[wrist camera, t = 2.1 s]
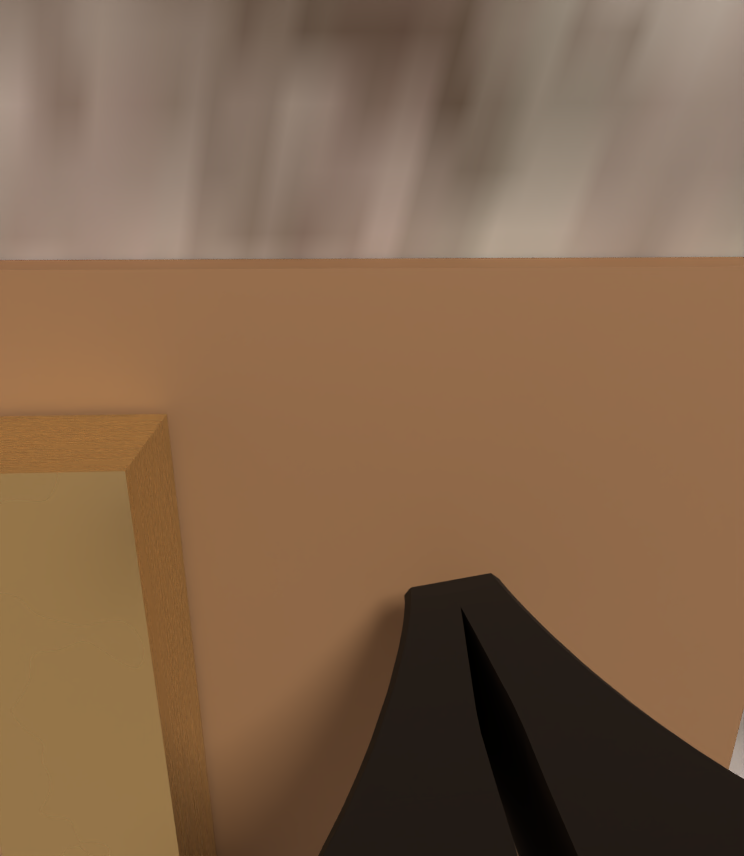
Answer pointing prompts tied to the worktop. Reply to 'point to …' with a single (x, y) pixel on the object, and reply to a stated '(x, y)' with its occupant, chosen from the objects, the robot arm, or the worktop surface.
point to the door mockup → (414, 479)
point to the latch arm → (96, 645)
